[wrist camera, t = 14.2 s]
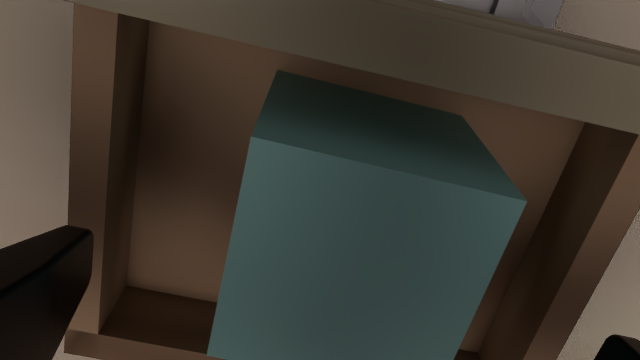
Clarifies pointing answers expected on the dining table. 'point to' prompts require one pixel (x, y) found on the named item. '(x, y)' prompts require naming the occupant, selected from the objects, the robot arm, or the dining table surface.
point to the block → (359, 229)
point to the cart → (354, 72)
